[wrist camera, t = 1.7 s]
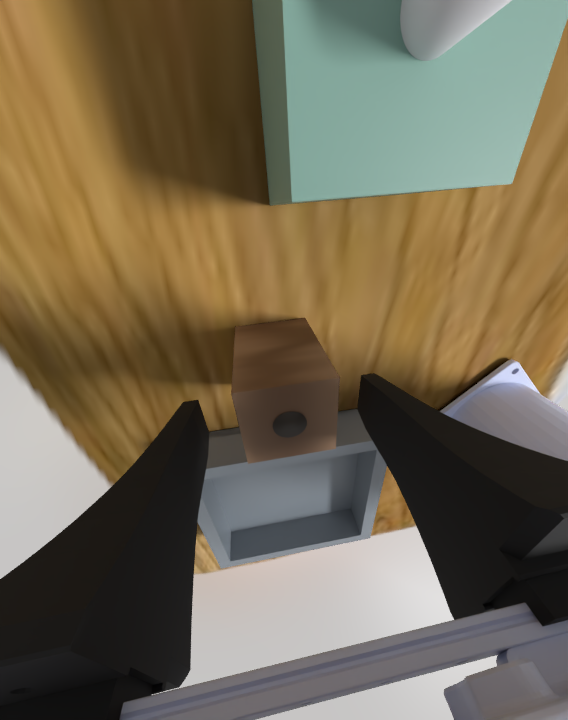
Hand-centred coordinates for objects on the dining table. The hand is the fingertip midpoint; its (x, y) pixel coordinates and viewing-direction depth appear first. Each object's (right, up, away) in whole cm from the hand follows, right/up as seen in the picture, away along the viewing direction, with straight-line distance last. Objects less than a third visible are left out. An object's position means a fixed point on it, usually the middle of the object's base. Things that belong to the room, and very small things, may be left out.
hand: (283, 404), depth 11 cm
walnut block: (-1, +2, +4) cm, 5 cm away
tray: (0, -8, +11) cm, 14 cm away
